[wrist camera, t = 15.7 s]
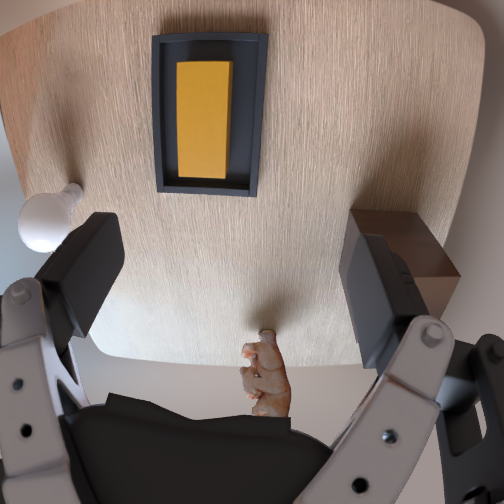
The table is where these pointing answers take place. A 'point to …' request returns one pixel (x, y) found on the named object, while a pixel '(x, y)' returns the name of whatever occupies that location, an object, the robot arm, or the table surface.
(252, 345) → the figurine
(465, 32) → the table surface
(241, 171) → the tray
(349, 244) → the stand
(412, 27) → the table surface
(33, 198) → the lightbulb
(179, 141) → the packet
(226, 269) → the table surface
